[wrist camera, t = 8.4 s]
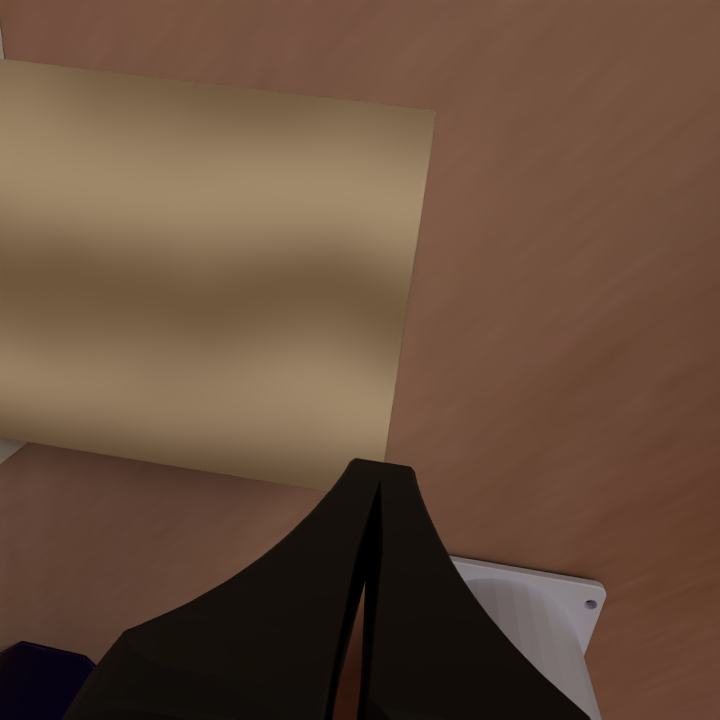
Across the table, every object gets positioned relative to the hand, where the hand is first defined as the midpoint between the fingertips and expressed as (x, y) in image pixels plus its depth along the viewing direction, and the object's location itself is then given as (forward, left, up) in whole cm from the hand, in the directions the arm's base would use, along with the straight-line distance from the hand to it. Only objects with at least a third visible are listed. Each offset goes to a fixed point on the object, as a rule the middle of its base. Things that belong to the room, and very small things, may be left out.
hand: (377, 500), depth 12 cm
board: (+2, +7, -9) cm, 12 cm away
